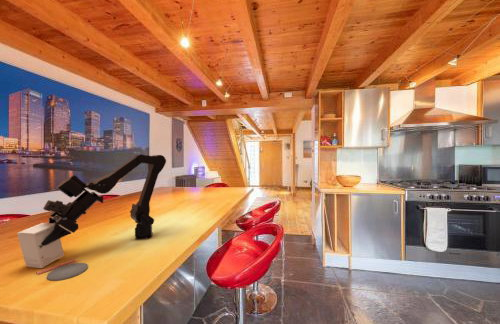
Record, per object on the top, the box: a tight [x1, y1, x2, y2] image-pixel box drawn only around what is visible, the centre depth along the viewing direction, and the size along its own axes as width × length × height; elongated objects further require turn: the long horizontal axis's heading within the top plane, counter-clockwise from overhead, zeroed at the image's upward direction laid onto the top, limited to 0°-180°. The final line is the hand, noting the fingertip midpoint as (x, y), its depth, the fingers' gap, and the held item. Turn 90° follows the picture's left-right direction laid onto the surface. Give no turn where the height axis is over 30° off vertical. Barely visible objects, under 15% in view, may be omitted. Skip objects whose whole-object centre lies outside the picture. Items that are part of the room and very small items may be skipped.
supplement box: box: [16, 222, 65, 269], centre depth 74 cm, size 7×7×13 cm
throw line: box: [36, 258, 77, 275], centre depth 72 cm, size 10×2×1 cm, turn 153°
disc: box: [46, 262, 89, 282], centre depth 69 cm, size 10×10×1 cm
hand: (40, 241), depth 74 cm, fingers closed on supplement box, 9 cm apart
